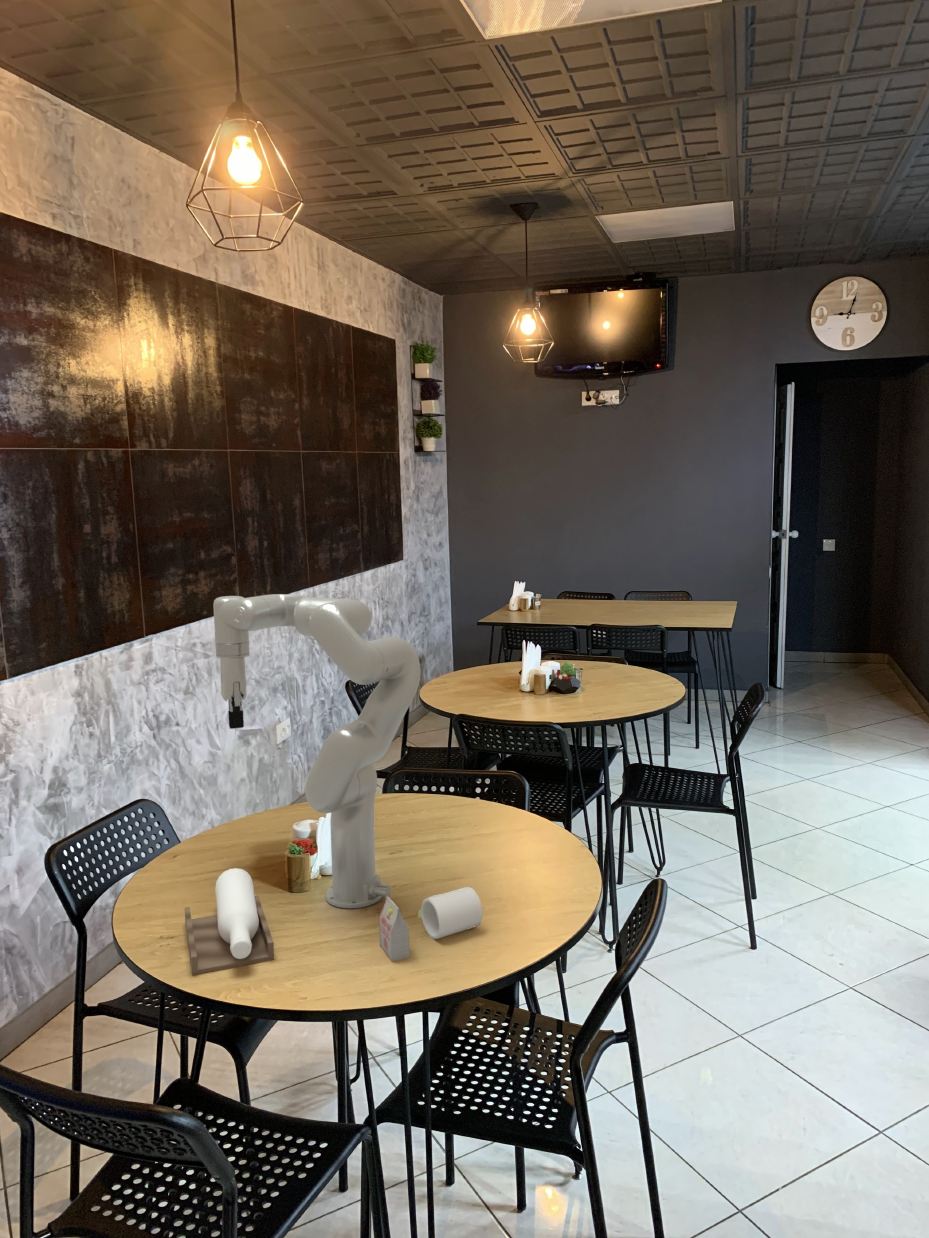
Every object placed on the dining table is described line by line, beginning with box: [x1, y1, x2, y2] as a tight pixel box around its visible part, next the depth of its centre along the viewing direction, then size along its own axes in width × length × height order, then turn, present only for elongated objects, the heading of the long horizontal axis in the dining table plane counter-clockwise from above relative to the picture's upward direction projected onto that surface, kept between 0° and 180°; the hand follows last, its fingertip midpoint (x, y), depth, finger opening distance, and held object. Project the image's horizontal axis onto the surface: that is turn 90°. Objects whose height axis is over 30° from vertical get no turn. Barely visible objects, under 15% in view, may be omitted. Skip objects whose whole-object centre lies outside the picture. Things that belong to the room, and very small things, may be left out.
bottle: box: [214, 867, 259, 959], centre depth 177 cm, size 8×8×30 cm
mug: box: [420, 886, 484, 940], centre depth 180 cm, size 12×10×8 cm
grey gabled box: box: [378, 895, 411, 962], centre depth 170 cm, size 4×7×10 cm, turn 24°
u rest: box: [184, 895, 275, 976], centre depth 175 cm, size 22×15×4 cm
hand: (236, 727), depth 205 cm, fingers closed
